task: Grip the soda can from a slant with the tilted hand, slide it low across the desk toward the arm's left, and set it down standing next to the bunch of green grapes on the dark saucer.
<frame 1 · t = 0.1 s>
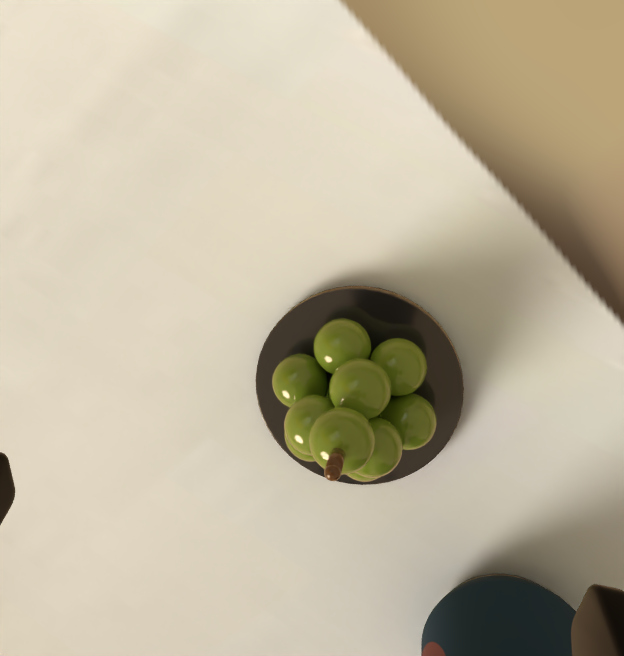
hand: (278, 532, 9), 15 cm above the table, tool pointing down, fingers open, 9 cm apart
grapes: (358, 385, 25), on the table
soda can: (500, 625, 27), on the table
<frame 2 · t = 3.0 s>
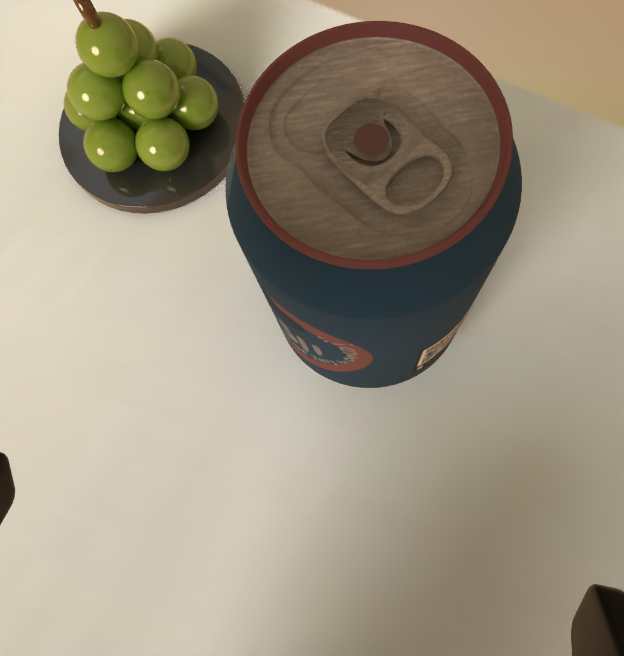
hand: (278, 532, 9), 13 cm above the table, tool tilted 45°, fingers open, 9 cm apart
grapes: (155, 128, 27), on the table
soda can: (368, 308, 24), on the table
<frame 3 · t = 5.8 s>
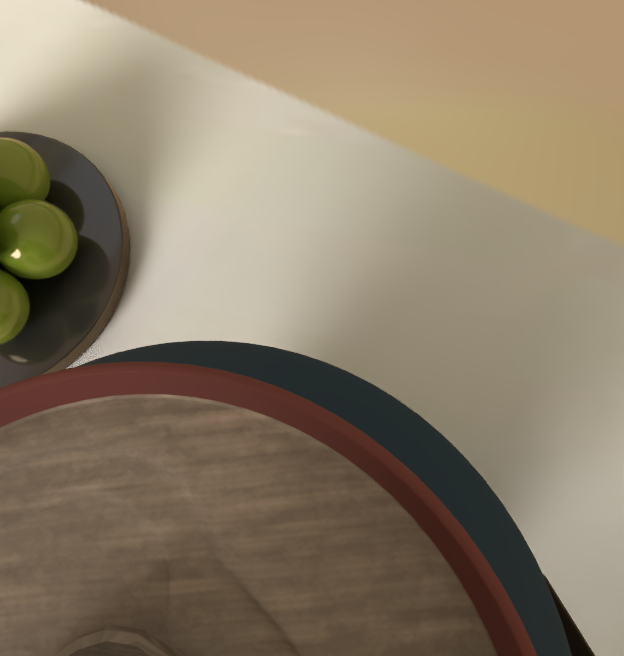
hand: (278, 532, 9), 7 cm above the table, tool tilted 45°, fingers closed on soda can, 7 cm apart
soda can: (301, 573, 15), on the table, touching gripper
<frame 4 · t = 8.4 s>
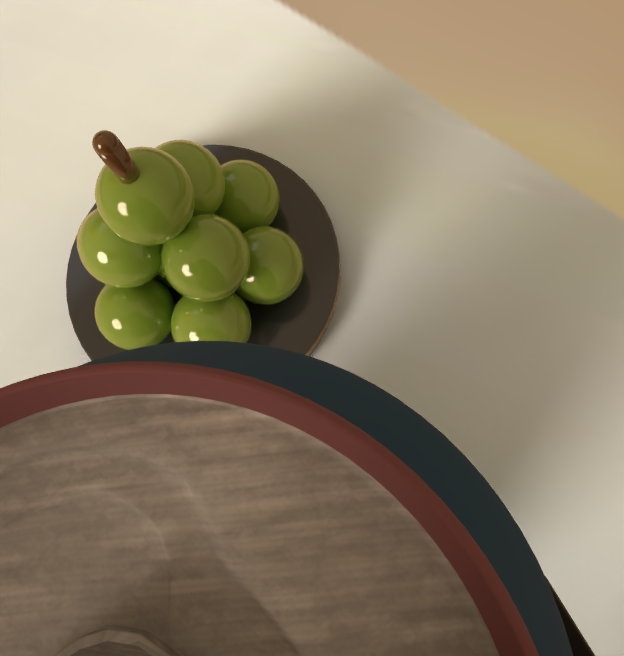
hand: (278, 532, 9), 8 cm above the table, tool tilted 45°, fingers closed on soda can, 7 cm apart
grapes: (205, 274, 19), on the table
soda can: (301, 573, 15), point 1 cm above the table, touching gripper
when the fingers open (7 cm above the table, at t = 11.0 s): soda can stays where it is, on the table.
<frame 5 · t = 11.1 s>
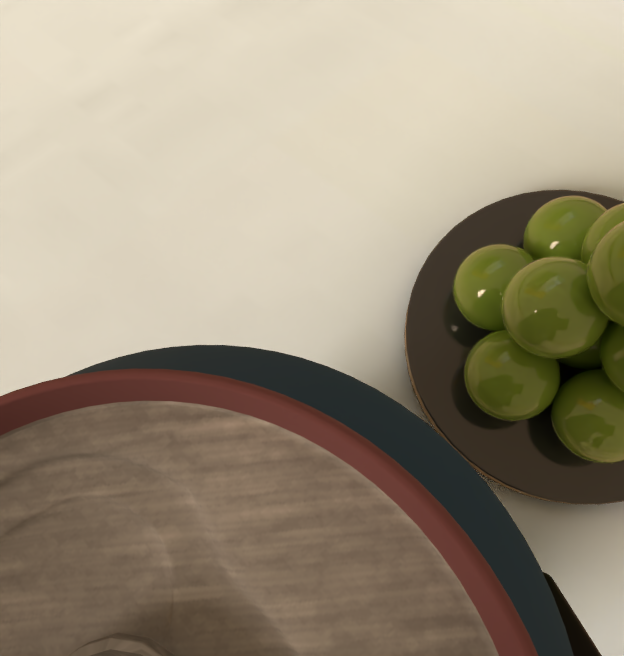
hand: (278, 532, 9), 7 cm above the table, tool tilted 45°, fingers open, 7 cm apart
grapes: (561, 341, 16), on the table
soda can: (302, 573, 15), on the table
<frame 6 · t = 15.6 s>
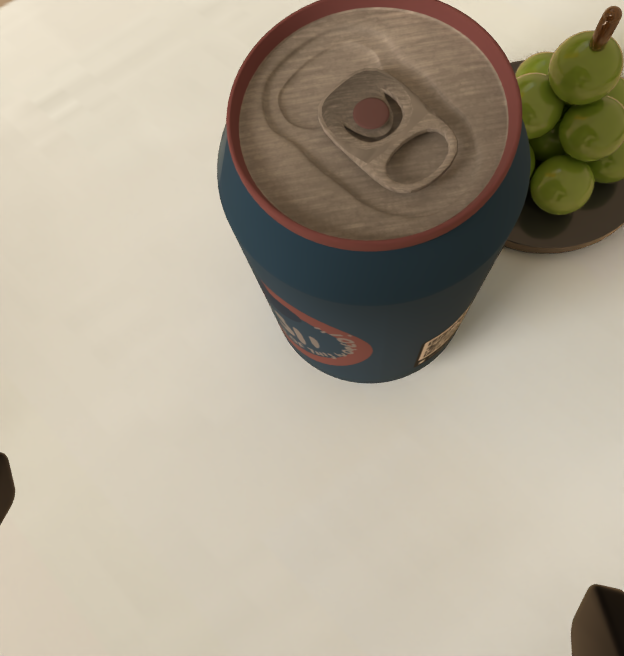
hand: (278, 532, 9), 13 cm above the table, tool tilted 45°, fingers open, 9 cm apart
grapes: (538, 157, 24), on the table
soda can: (367, 302, 23), on the table
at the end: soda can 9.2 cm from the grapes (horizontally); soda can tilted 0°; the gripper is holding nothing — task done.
